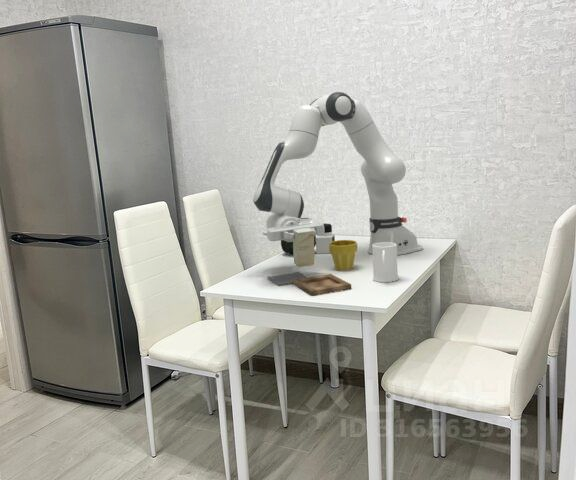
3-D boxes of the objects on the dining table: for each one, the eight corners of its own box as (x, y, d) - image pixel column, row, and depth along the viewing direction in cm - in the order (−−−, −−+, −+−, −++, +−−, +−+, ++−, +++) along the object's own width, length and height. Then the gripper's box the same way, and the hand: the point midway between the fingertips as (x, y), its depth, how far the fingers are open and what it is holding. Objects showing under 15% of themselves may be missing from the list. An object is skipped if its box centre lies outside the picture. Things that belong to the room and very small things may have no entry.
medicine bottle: (333, 253, 239) (331, 225, 236) (316, 254, 240) (314, 225, 238) (335, 249, 246) (333, 222, 243) (318, 250, 247) (317, 222, 245)
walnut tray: (330, 278, 201) (330, 273, 200) (351, 289, 186) (351, 284, 186) (293, 284, 196) (293, 279, 196) (311, 296, 181) (311, 291, 181)
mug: (395, 285, 186) (394, 249, 184) (369, 285, 189) (367, 249, 187) (400, 276, 197) (399, 241, 195) (375, 275, 200) (373, 241, 198)
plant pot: (355, 272, 207) (353, 245, 205) (327, 271, 210) (325, 245, 208) (360, 265, 216) (359, 239, 214) (334, 264, 220) (332, 239, 218)
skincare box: (298, 267, 193) (296, 233, 189) (293, 263, 197) (292, 229, 193) (315, 264, 195) (314, 230, 191) (310, 260, 199) (309, 227, 195)
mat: (298, 273, 210) (298, 271, 210) (311, 280, 199) (311, 279, 199) (267, 278, 206) (267, 276, 206) (278, 286, 195) (278, 284, 195)
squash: (271, 240, 247) (283, 216, 237) (298, 236, 255) (312, 213, 246) (286, 266, 240) (299, 242, 230) (314, 260, 249) (328, 237, 239)
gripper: (260, 224, 201) (273, 229, 188) (314, 217, 208) (330, 222, 195) (262, 241, 202) (275, 248, 190) (315, 234, 209) (331, 240, 196)
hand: (303, 235), depth 193 cm, fingers closed on skincare box, 6 cm apart
